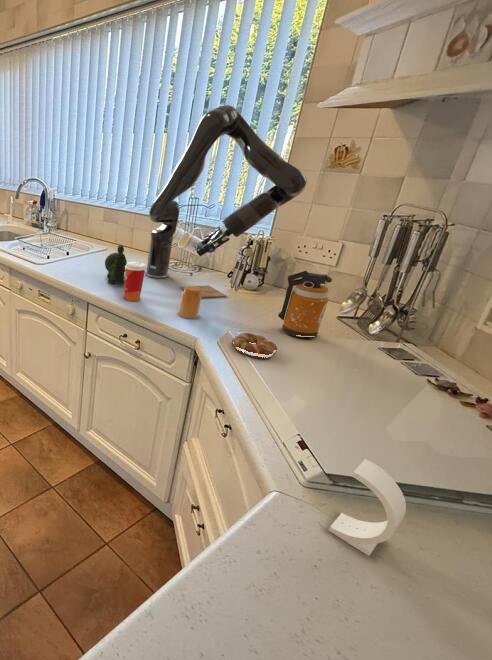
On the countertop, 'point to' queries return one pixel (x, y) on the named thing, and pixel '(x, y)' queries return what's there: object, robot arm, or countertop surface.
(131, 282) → the paper cup
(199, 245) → the lid
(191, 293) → the jar
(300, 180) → the robot arm
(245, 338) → the pretzel
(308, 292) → the canister
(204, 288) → the mat
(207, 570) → the countertop surface
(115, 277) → the toy figurine
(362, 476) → the headphone stand
